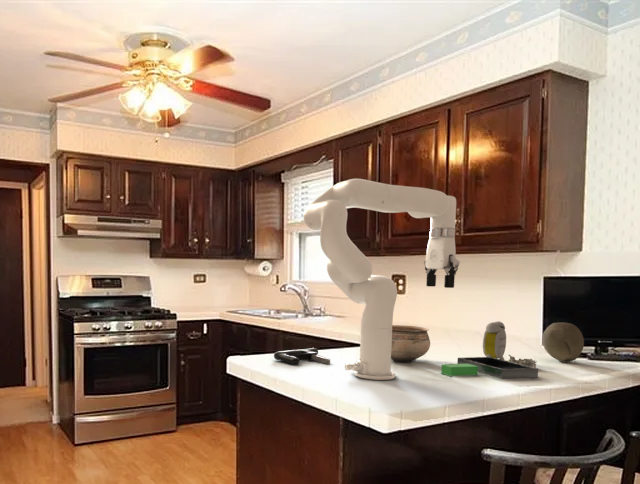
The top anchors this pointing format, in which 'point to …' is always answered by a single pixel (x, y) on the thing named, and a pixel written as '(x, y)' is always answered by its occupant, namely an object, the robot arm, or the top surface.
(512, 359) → the grey lumpy piece
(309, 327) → the top surface
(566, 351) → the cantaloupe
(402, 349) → the cooking pot
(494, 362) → the dark grey tray
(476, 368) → the block
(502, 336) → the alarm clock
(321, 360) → the door handle
